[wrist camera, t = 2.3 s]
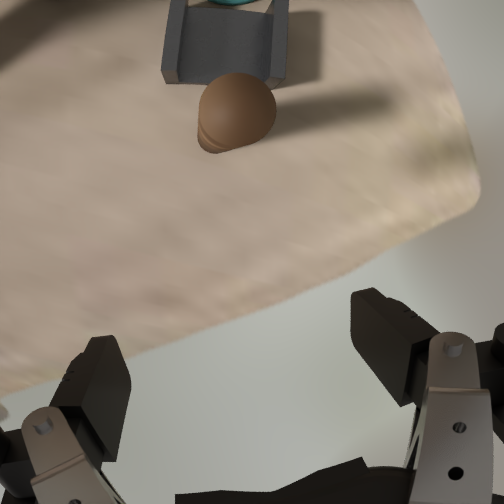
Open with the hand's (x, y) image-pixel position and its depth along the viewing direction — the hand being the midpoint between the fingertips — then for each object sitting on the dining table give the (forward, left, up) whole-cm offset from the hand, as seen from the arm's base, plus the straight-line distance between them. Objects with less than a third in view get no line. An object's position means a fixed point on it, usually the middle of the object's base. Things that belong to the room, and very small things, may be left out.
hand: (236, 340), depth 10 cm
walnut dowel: (+1, +8, -28) cm, 29 cm away
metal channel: (+1, +19, -28) cm, 34 cm away
